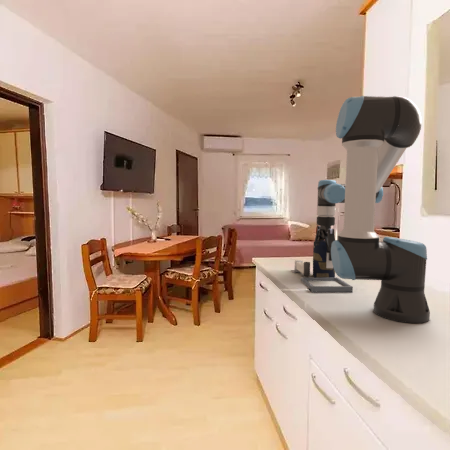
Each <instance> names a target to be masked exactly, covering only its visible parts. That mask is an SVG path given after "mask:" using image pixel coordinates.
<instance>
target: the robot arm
mask: <svg viewBox="0 0 450 450" xmlns="http://www.w3.org/2000/svg"><path fill="white" fill-rule="evenodd" d="M337 115H338V116H337V120H336V126H335V136H336V138H338V139H339V140H341V146H342V147H343V148H344V149H345V150H346V164H345V165H346V167H345V183H337V180H335V179H321V180H319V181H318V185H317V205H316V215H317V217H316V225H317V227H316V234H315V238H314V241H316V240H321V239H324V240H325V242H326V246H327V250H328V251H327V252H326V253H327V261H326V268H333V267H334V270H335V275H336V276H337V277H338V278H339V279H341V280H352V281H355V280H358V281H359V280H360V281H363V280H364V281H365V280H366V281H368V280H369V281H380V288H379V290H378V292H377V295H376V298H375V300H374V302H373V312H374V313H375V314H376V315H378V316H380V317H382V318H385V319H388V320H391V321H396V322H401V323H408V324H420V323H421V324H422V323H427V322H428V321H430V319H431V318H430V316H431V311H430V308H429V304H428V301H427V298H426V294H425V285H426V273H427V272H426V271H427V260H428V256H427V255H428V254H427V250H428V249H427V246H426V245H425V244H424V243H422V242H420V241H415V240H411V239H404V238H399V237H392V236H391V237H390V236H384V237H383V239H382V241H380V235H378V233H377V232H376V231H375V219H376V218H375V216H376V204H379V203H381V201H383V197H384V189H383V185H384V184H385V183H386V181H387V179H388V178H389V176H390V174H392V172H393V170H394V169H395V167H396V165H397V164H398V162H399V161H400V159H401V157H402V156H403V155H404V153H405V151H406V150H407V149H408V148H410V147H412V146H413V145H414V143H415V142H416V141H417V139H418V137H419V135H420V132H421V130H422V116H421V115H422V114H421V112H420V109H419V108H418V106H417V105H416V104H415V103H414V102H413V101H412V100H411V99H409V98H407V97H405V96H399V95H394V96H393V95H392V96H384V95H383V96H381V95H380V96H376V95H375V96H373V95H371V96H370V95H360V96H351V97H348V98H346V99H345V100H344V101H343V103H342V105H341V106H340V110H339V111H338V114H337ZM336 204H344V207H343V209H344V210H343V211H344V212H343V213H344V214H343V229H342V230H341V231H340V232H339V233H338V234H337V239H336V238H335V237H336V236H335V229H334V228H332V227H333V226H335V224H336V223H335V221H336V218H335V215H336V211H337V208H336Z"/></svg>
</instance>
